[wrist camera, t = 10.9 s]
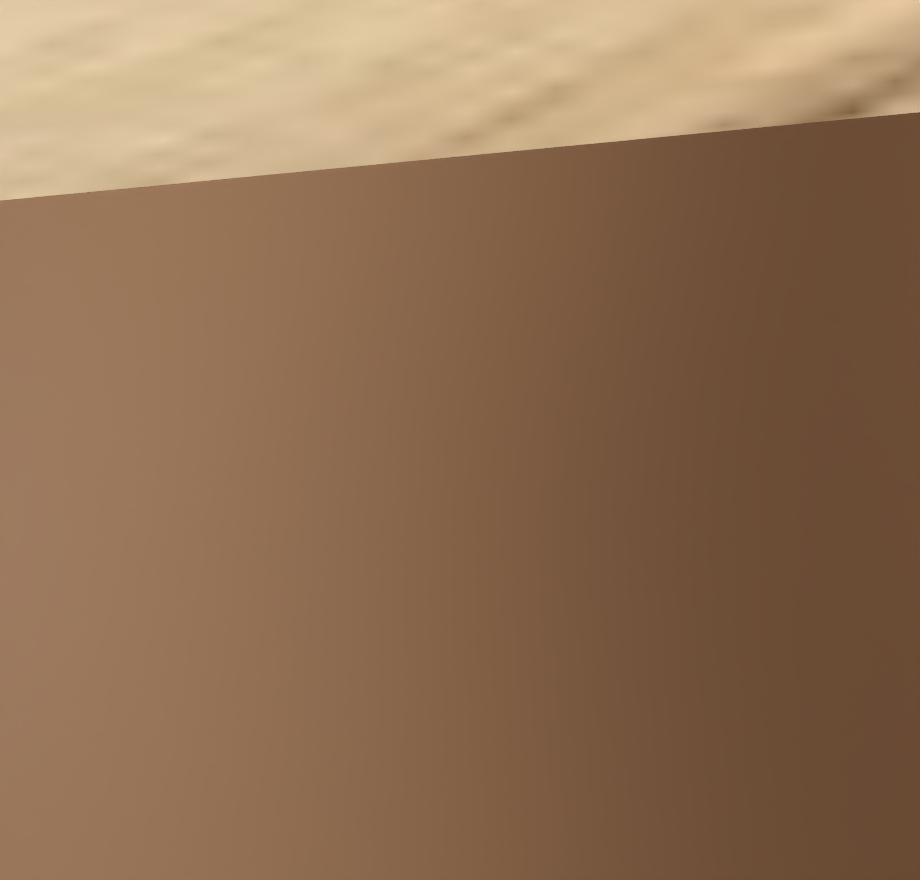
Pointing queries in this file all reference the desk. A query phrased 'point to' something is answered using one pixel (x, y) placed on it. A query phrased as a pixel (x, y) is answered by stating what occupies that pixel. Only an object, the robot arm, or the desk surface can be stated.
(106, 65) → the desk surface
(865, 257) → the walnut block
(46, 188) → the desk surface
